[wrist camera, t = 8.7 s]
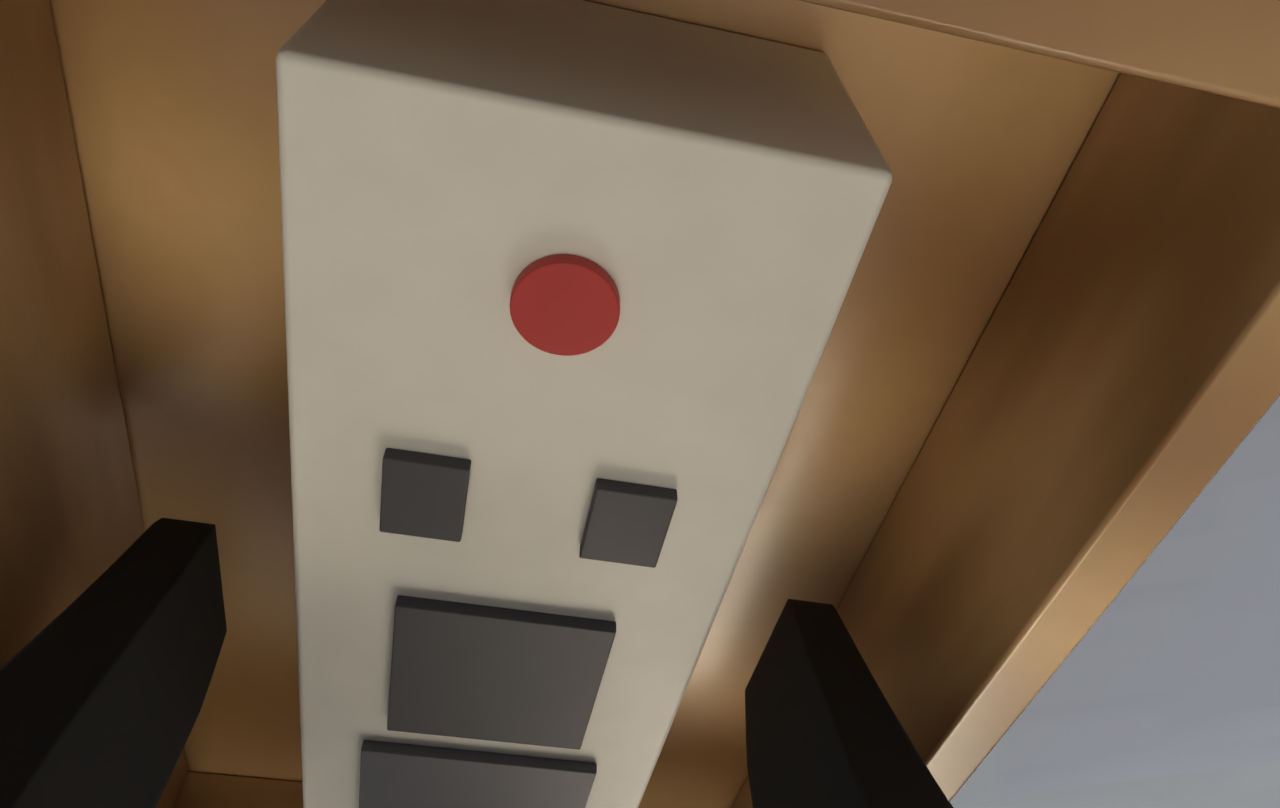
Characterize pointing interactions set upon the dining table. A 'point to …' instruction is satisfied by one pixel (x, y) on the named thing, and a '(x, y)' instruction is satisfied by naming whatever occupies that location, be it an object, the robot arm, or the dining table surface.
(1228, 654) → the dining table surface
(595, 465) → the remote
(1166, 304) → the tidy box
